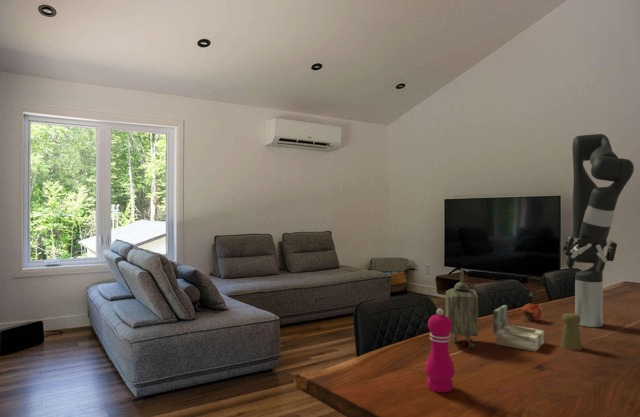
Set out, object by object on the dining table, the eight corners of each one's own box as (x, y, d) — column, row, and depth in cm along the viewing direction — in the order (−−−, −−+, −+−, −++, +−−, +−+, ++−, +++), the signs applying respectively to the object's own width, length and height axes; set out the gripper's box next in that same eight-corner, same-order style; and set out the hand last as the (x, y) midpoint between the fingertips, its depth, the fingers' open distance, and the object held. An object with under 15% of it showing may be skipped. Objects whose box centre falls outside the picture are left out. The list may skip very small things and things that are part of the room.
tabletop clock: (477, 350, 143) (478, 272, 143) (448, 348, 145) (448, 271, 145) (471, 337, 157) (472, 266, 157) (445, 336, 159) (445, 265, 159)
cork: (584, 351, 143) (584, 316, 143) (564, 349, 144) (564, 315, 144) (577, 345, 149) (578, 312, 149) (558, 344, 150) (558, 311, 150)
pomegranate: (533, 329, 177) (551, 313, 178) (521, 314, 177) (539, 298, 178) (522, 326, 184) (539, 310, 185) (511, 312, 184) (528, 296, 186)
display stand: (503, 335, 160) (503, 304, 160) (544, 342, 152) (544, 310, 152) (493, 343, 150) (493, 310, 150) (535, 351, 142) (535, 316, 142)
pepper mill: (421, 382, 117) (421, 305, 117) (448, 381, 118) (448, 305, 117) (430, 393, 110) (430, 312, 110) (459, 392, 110) (459, 311, 110)
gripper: (615, 221, 140) (602, 268, 145) (568, 215, 142) (556, 262, 147) (628, 228, 133) (613, 278, 138) (577, 222, 135) (564, 271, 140)
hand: (583, 269), depth 142 cm, fingers open, 8 cm apart
